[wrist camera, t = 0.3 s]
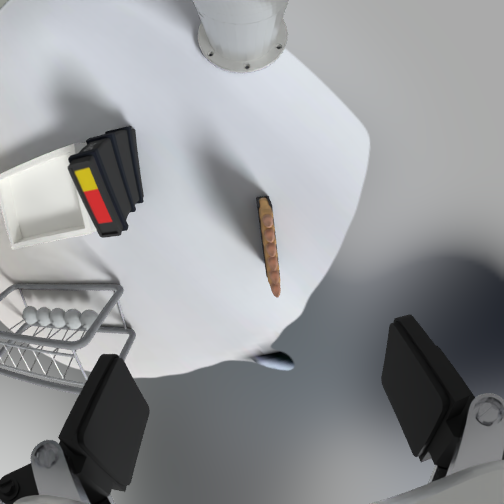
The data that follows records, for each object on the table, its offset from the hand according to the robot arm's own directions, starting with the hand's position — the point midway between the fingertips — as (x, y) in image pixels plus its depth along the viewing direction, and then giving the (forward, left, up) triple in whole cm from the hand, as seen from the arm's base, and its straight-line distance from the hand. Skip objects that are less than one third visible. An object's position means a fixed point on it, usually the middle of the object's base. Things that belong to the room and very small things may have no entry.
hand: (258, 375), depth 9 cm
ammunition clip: (+6, +2, -36) cm, 36 cm away
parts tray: (-5, -34, -35) cm, 49 cm away
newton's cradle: (+16, -38, -36) cm, 55 cm away
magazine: (-6, -17, -36) cm, 40 cm away
